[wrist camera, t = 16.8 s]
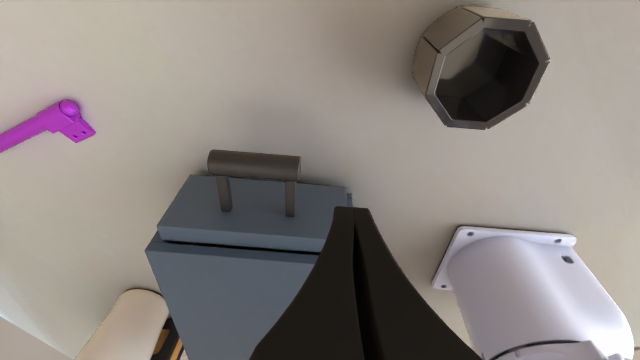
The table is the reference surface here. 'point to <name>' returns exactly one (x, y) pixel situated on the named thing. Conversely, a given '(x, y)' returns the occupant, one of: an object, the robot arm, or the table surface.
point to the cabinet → (225, 293)
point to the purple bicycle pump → (50, 125)
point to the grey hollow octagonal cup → (479, 65)
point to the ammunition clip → (168, 343)
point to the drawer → (252, 206)
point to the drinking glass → (128, 328)
